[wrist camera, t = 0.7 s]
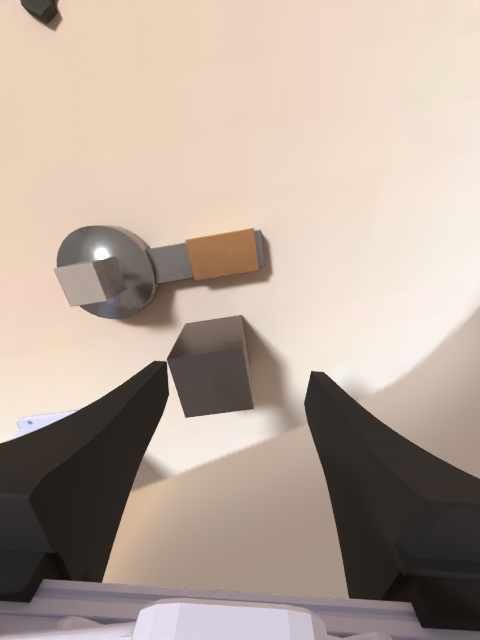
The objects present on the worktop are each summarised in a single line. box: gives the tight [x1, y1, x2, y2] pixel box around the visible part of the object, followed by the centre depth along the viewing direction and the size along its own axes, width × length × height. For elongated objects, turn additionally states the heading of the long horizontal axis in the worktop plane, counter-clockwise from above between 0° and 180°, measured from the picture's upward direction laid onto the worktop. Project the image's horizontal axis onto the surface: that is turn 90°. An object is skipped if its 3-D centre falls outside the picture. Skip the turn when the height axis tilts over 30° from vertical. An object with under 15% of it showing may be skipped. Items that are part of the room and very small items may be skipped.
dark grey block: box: [167, 315, 254, 418], centre depth 19 cm, size 5×5×6 cm
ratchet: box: [54, 226, 265, 319], centre depth 17 cm, size 16×7×5 cm, turn 99°
